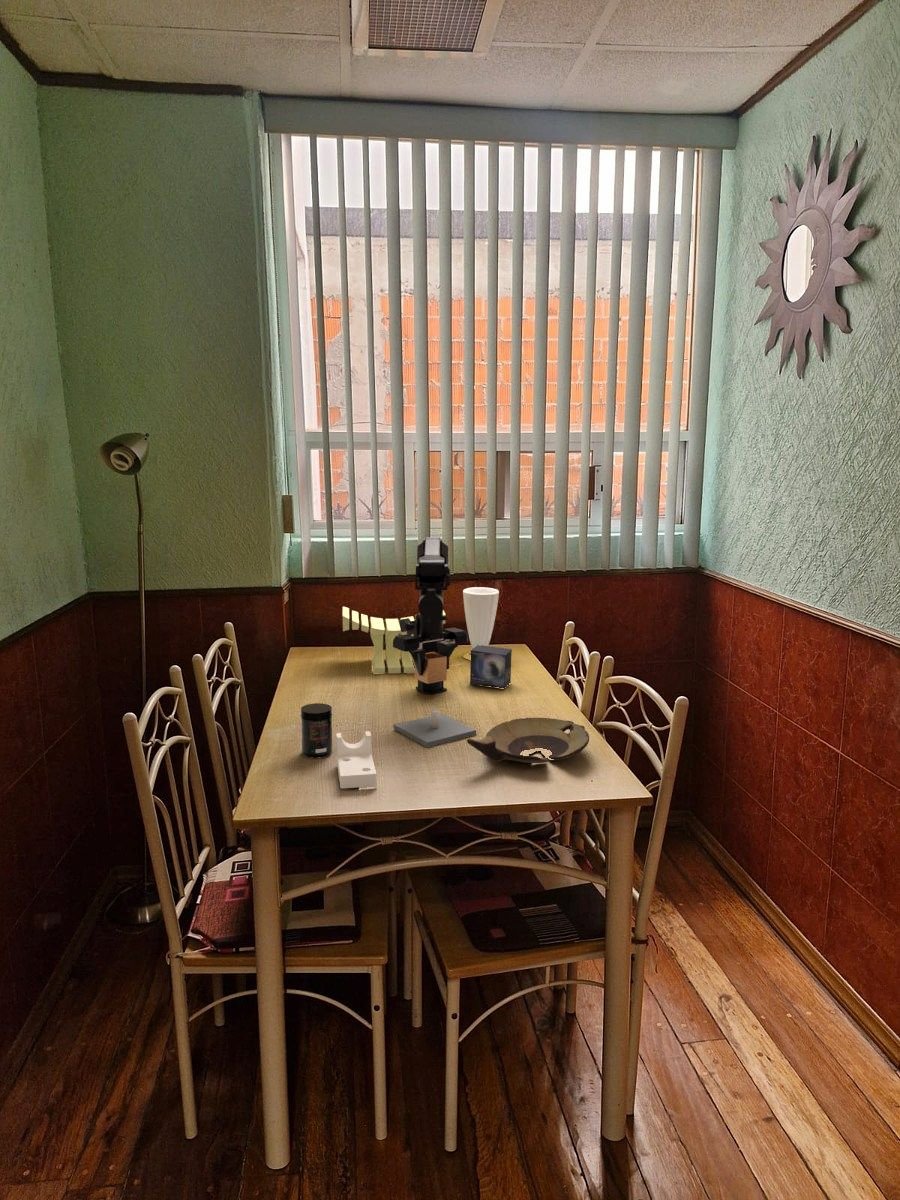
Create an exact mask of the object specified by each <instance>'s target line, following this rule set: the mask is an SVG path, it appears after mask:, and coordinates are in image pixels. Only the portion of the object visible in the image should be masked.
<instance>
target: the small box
mask: <svg viewBox="0 0 900 1200" xmlns="http://www.w3.org/2000/svg"><path fill="white" fill-rule="evenodd" d="M470 652H471V661H470V666H469V667H470V670H469V672H470V673H469V674H470V675H469V684H473V685H472V686H476V685H482V686H481V687H483V686H491V687H499V688H505V687H506V686H507V685H509V683H511V682H512V681H511V679H512V652H513V649H512V648H507V647H497V646H490V645H488V646H483V645H477V646H476V647H475V648H473V649H472V648H471V650H470ZM509 686H510V685H509Z"/></svg>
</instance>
